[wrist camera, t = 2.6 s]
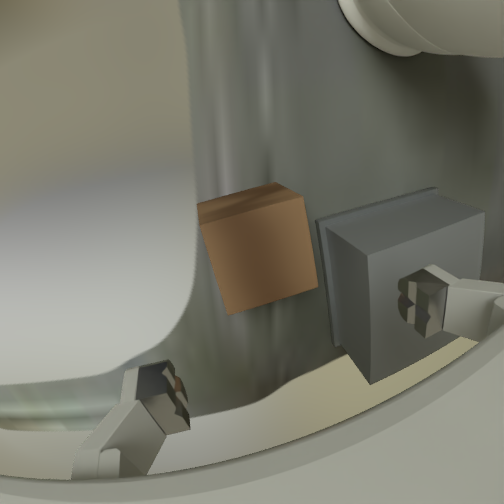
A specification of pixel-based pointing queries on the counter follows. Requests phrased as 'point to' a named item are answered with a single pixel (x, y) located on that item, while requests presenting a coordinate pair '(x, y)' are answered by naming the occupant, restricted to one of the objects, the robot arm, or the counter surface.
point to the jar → (430, 26)
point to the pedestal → (392, 272)
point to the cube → (258, 245)
